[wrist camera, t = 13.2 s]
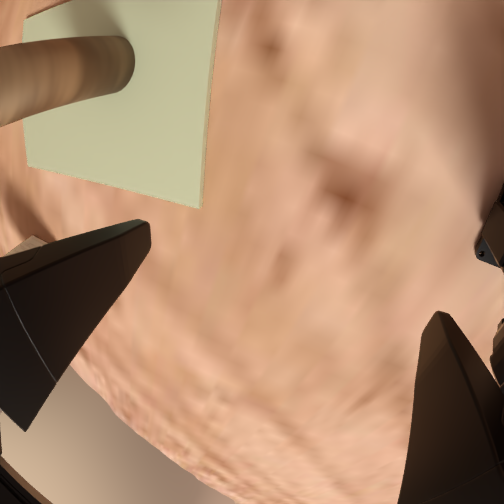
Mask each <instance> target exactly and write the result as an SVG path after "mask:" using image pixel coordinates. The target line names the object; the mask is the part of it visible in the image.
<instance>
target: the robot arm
mask: <svg viewBox="0 0 504 504" xmlns="http://www.w3.org/2000/svg"><path fill="white" fill-rule="evenodd" d="M150 248H151V232H150V224H149V223H148V222H147V221H143V220H140V219H135V220H131V221H127V222H123V223H120V224H116V225H112V226H108V227H105V228H101V229H97V230H94V231H90V232H86V233H83V234H79V235H76V236H72V237H69V238H65V239H62V240H58V241H55V242H52V243H48V244H45V245H42V247H41V246H38V247H35V248H32V249H29V250H25V251H22V252H19V253H15V254H11V255H7V256H4V257H0V413H1V412H2V411H3V412H4V413H5V414H6V415H7V416H8V417H9V418H10V419H11V420H13V422H15V423H16V424H17V425H18V426H19V427H20V428H21V429H22V430H23V431H24V432H26V431H27V429H28V428H29V426H30V425H31V423H32V421H33V420H34V418H35V417H36V415H37V413H38V411H39V410H40V408H41V407H42V405H43V404H44V402H45V401H46V399H47V397H48V396H49V394H50V393H51V391H52V390H53V388H54V387H55V385H56V383H57V382H58V381H59V379H60V378H61V376H62V375H63V373H64V372H65V370H66V369H67V367H68V366H69V364H70V363H71V361H72V360H73V359H74V357H75V356H76V354H77V353H78V351H79V350H80V349H81V347H82V346H83V344H84V343H85V341H86V340H87V339H88V337H89V336H90V335H91V333H92V332H93V330H94V329H95V328H96V326H97V325H98V324H99V322H100V321H101V320H102V318H103V317H104V316H105V314H106V313H107V312H108V310H109V309H110V308H111V306H112V305H113V304H114V302H115V301H116V300H117V298H118V297H119V296H120V295H121V293H122V292H123V291H124V289H125V288H126V287H127V285H128V284H129V282H130V281H131V279H132V277H133V276H134V274H135V273H136V271H137V270H138V268H139V266H140V265H141V263H142V262H143V260H144V259H145V257H146V256H147V254H148V253H149V251H150ZM481 251H483V253H482V254H479V253H480V252H481ZM475 255H476V257H477V259H479V260H481V261H484V262H486V263H489V264H491V265H494V266H496V267H499V268H501V269H502V271H503V273H504V185H503V187H502V190H501V192H500V195H499V198H498V200H497V201H496V202H495V203H494V206H493V208H492V210H491V213H490V215H489V217H488V220H487V222H486V224H485V226H484V229H483V231H482V237H481V239H480V241H479V243H478V245H477V247H476V249H475ZM490 363H491V367H492V371H493V374H494V377H495V380H496V381H495V380H494V378H493V376H492V375H491V373H490V372H489V370H488V369H487V367H486V366H485V364H484V362H483V361H482V359H481V358H480V356H479V355H478V353H477V352H476V351H475V349H474V348H473V346H472V345H471V343H470V342H469V340H468V339H467V338H466V336H465V335H464V333H463V332H462V331H461V329H460V328H459V326H458V325H457V324H456V322H455V321H454V320H453V318H452V317H451V316H450V314H448V313H445V312H442V311H436V312H435V313H434V315H433V316H432V318H431V319H430V321H429V323H428V324H427V326H426V327H425V329H424V330H423V333H422V336H421V344H420V352H419V359H418V366H417V372H416V379H415V388H414V401H413V412H412V422H411V430H410V438H409V445H408V452H407V458H406V464H405V470H404V475H403V480H402V485H401V490H400V494H399V499H398V503H397V504H504V318H503V319H502V320H501V321H500V323H499V324H498V330H497V332H496V334H495V336H494V338H493V354H492V355H491V356H490ZM1 454H2V447H1V433H0V504H52V503H51V502H50V501H49V500H48V499H46V498H45V497H44V496H43V495H42V494H40V493H39V492H38V491H37V490H36V489H35V488H33V487H32V486H31V485H30V484H29V483H28V482H27V481H26V480H25V479H24V478H23V477H21V476H20V475H19V474H18V473H17V472H16V471H15V470H14V469H13V468H12V467H11V466H10V465H9V464H8V463H7V462H6V461H5V460H4V458H3V457H1Z"/></svg>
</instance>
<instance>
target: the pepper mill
mask: <svg viewBox="0 0 504 504" xmlns="http://www.w3.org/2000/svg"><path fill="white" fill-rule="evenodd" d="M134 68H135V54H134V50H133V47H132V45H131V44H130V42H129V41H128V40H127V39H125V38H124V37H121V36H84V37H68V38H57V39H48V40H40V41H32V42H26V43H19V44H14V45H8V46H3V47H0V127H2V126H5V125H7V124H10V123H13V122H15V121H18V120H21V119H24V118H26V117H29V116H32V115H35V114H38V113H41V112H44V111H48V110H51V109H54V108H57V107H61V106H64V105H68V104H72V103H75V102H79V101H83V100H87V99H91V98H95V97H99V96H104V95H108V94H113V93H117V92H119V91H121V90H122V89H123V88H125V87H126V85H127V84H128V83H129V81H130V80H131V78H132V75H133V72H134Z"/></svg>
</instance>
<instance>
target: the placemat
mask: <svg viewBox="0 0 504 504" xmlns="http://www.w3.org/2000/svg"><path fill="white" fill-rule="evenodd" d="M221 3H222V0H72V1H69V2H66V3H64V4H61V5H58V6H56V7H53V8H51V9H48V10H46V11H43V12H41V13H39V14H36V15H34V16H32V17H30V18H27V19H25V20H24V25H23V37H22V43H26V42H32V41H40V40H48V39H57V38H68V37H84V36H121V37H124V38H125V39H127V40H128V41H129V42H130V44H131V45H132V47H133V50H134V54H135V68H134V72H133V75H132V78H131V80H130V81H129V83H128V84H127V85H126V87H125V88H123V89H122V90H121V91H119V92H117V93H113V94H108V95H104V96H99V97H95V98H91V99H87V100H83V101H79V102H75V103H72V104H68V105H64V106H61V107H57V108H54V109H51V110H48V111H44V112H41V113H38V114H35V115H32V116H29V117H26V118H24V119H23V128H24V138H25V147H26V155H27V163H28V166H29V167H33V168H38V169H42V170H47V171H51V172H55V173H59V174H64V175H68V176H72V177H76V178H80V179H84V180H88V181H92V182H97V183H101V184H105V185H109V186H113V187H117V188H121V189H125V190H128V191H132V192H136V193H140V194H144V195H148V196H152V197H156V198H159V199H163V200H167V201H171V202H174V203H178V204H182V205H186V206H189V207H193V208H197V209H200V208H201V207H202V205H203V187H204V170H205V156H206V142H207V129H208V117H209V106H210V96H211V85H212V76H213V66H214V58H215V49H216V41H217V33H218V25H219V17H220V10H221Z"/></svg>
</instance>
